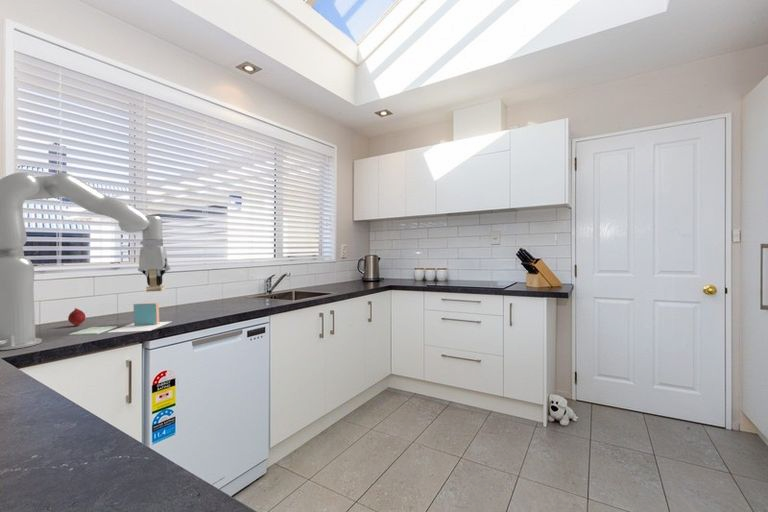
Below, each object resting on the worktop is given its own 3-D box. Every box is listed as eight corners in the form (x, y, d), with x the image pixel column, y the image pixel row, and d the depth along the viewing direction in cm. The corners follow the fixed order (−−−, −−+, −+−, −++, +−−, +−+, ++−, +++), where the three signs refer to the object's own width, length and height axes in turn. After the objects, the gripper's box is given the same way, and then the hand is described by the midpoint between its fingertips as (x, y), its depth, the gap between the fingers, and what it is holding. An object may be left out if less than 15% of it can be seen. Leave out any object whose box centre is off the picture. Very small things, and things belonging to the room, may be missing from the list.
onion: (88, 324, 162) (87, 306, 162) (81, 326, 157) (80, 308, 156) (73, 325, 161) (72, 307, 161) (65, 327, 155) (64, 309, 155)
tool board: (97, 335, 138) (97, 332, 138) (69, 337, 137) (69, 333, 137) (117, 329, 150) (117, 326, 150) (91, 330, 149) (91, 327, 149)
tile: (156, 324, 153) (155, 303, 153) (133, 325, 152) (133, 304, 152) (159, 323, 155) (158, 302, 155) (137, 324, 154) (136, 303, 154)
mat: (150, 332, 142) (150, 330, 142) (106, 334, 140) (106, 332, 140) (172, 323, 160) (172, 321, 160) (133, 324, 158) (133, 323, 158)
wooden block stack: (160, 291, 160) (159, 268, 159) (146, 291, 159) (145, 268, 159) (164, 290, 163) (163, 267, 162) (150, 290, 162) (148, 268, 162)
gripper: (128, 244, 156) (130, 286, 156) (168, 243, 157) (170, 285, 158) (138, 244, 163) (140, 284, 164) (176, 243, 165) (178, 283, 165)
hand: (155, 284), depth 161 cm, fingers closed on wooden block stack, 3 cm apart
